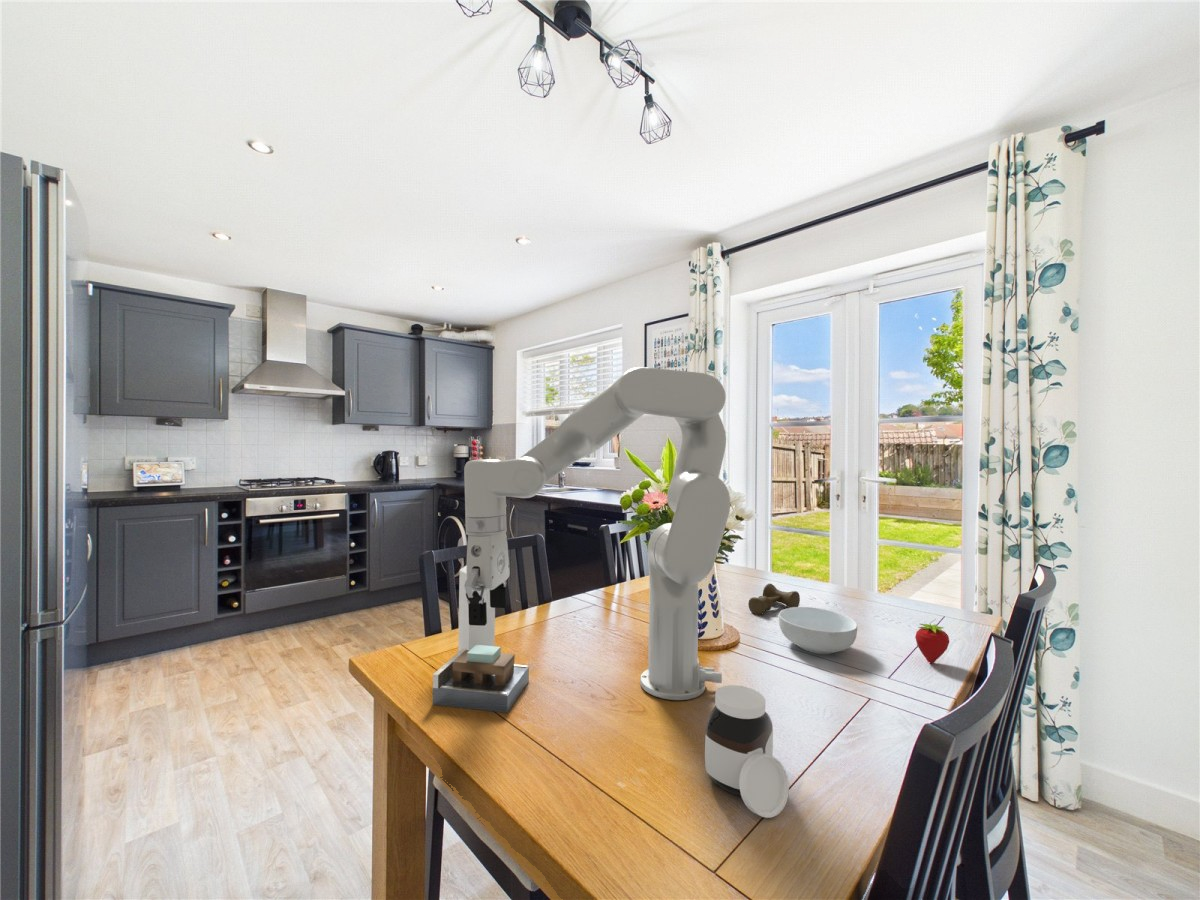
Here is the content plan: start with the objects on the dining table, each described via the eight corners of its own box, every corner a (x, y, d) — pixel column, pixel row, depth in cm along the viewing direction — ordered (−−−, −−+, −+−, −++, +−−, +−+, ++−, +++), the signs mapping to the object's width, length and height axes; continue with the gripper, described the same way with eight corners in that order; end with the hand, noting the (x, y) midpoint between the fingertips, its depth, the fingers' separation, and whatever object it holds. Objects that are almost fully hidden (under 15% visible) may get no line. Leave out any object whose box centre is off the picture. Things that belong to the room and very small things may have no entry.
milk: (468, 664, 106) (469, 561, 105) (457, 655, 110) (458, 555, 110) (495, 657, 109) (496, 557, 109) (483, 648, 114) (484, 552, 114)
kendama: (740, 612, 144) (778, 598, 157) (769, 622, 137) (807, 606, 150) (740, 592, 144) (778, 579, 157) (770, 601, 137) (807, 587, 149)
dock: (528, 681, 98) (529, 653, 98) (507, 712, 86) (507, 681, 86) (462, 674, 101) (462, 648, 101) (432, 704, 89) (432, 674, 89)
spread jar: (730, 752, 76) (731, 676, 76) (805, 785, 69) (806, 701, 69) (688, 791, 67) (690, 705, 67) (770, 835, 60) (772, 738, 60)
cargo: (500, 654, 95) (500, 646, 95) (492, 663, 91) (492, 655, 91) (475, 652, 96) (475, 644, 96) (466, 661, 92) (467, 653, 92)
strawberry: (955, 664, 109) (956, 619, 109) (937, 672, 105) (938, 624, 105) (926, 654, 114) (927, 611, 114) (908, 661, 110) (909, 616, 110)
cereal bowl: (778, 656, 112) (779, 624, 112) (777, 631, 128) (778, 603, 128) (862, 667, 107) (863, 635, 107) (851, 640, 123) (851, 611, 123)
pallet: (514, 672, 95) (514, 654, 95) (504, 685, 90) (504, 666, 90) (465, 667, 97) (465, 649, 97) (452, 680, 92) (452, 661, 92)
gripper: (486, 533, 84) (489, 633, 85) (520, 518, 101) (522, 602, 102) (445, 532, 86) (448, 631, 86) (485, 518, 103) (487, 601, 103)
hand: (488, 615), depth 94 cm, fingers open, 9 cm apart
